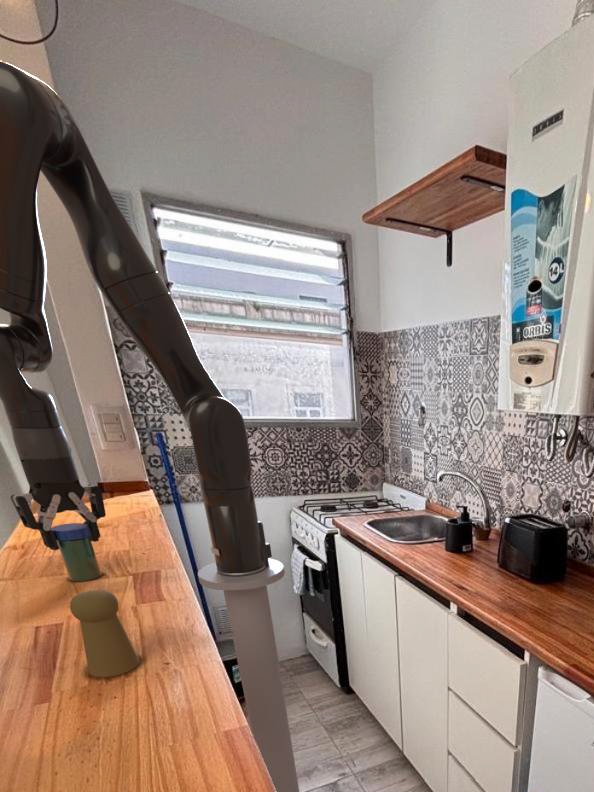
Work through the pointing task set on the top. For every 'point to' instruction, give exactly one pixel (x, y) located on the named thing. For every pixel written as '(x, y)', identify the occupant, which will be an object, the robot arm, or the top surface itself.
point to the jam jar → (80, 559)
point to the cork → (103, 634)
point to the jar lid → (71, 531)
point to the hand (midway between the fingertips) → (74, 544)
